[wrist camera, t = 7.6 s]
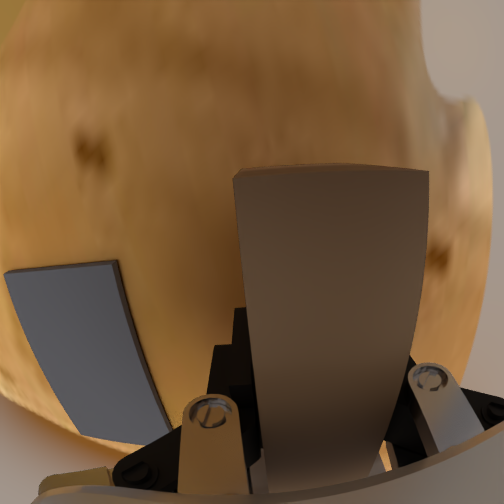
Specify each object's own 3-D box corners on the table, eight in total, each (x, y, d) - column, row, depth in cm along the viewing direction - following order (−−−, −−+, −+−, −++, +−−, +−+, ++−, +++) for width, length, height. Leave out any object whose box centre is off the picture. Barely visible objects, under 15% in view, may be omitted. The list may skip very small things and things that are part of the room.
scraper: (176, 176, 9) (63, 209, 3) (394, 162, 9) (540, 183, 3) (230, 451, 13) (225, 550, 7) (363, 434, 13) (394, 525, 7)
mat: (8, 270, 14) (3, 274, 14) (116, 260, 14) (111, 264, 14) (83, 430, 19) (81, 434, 18) (178, 442, 19) (177, 448, 18)
